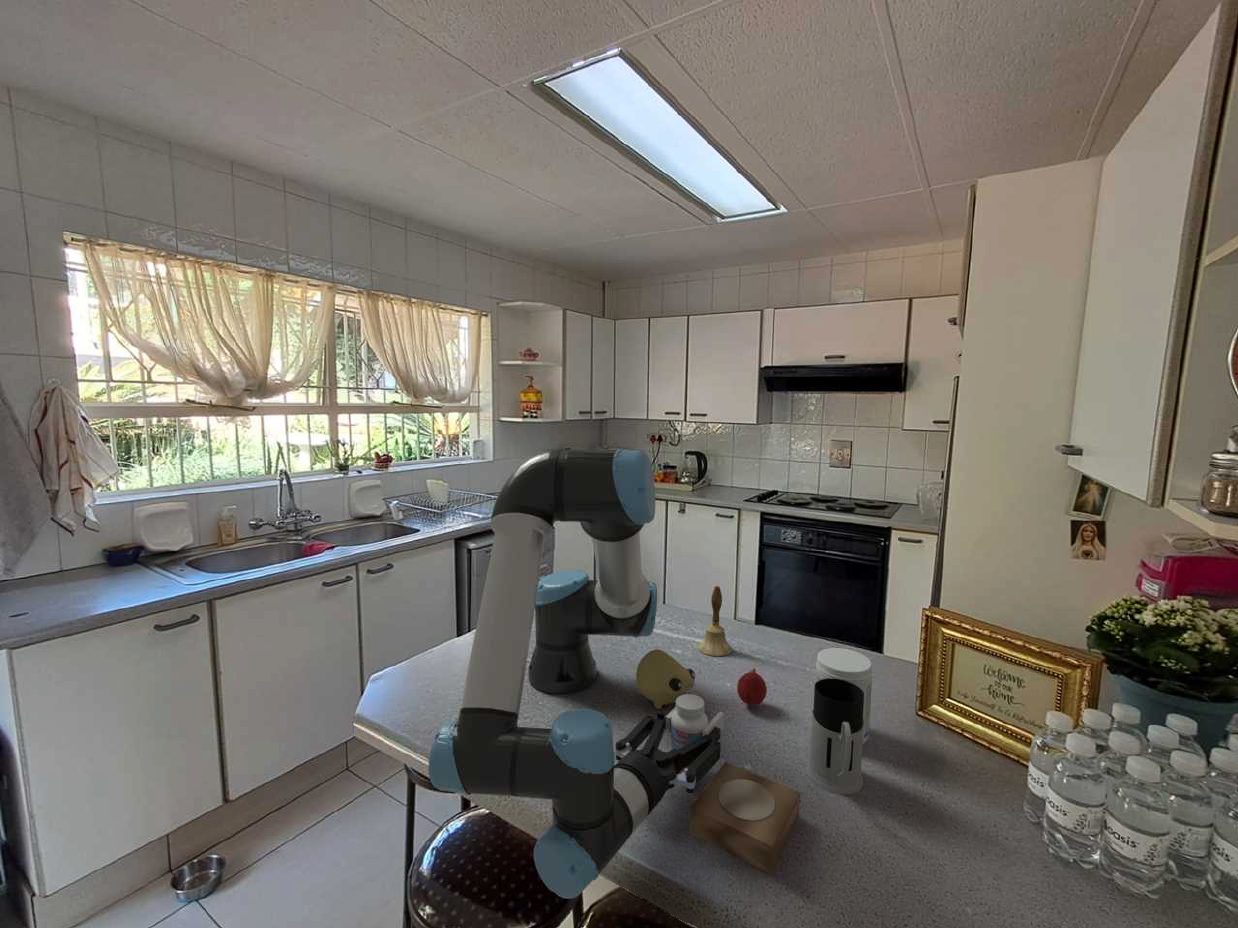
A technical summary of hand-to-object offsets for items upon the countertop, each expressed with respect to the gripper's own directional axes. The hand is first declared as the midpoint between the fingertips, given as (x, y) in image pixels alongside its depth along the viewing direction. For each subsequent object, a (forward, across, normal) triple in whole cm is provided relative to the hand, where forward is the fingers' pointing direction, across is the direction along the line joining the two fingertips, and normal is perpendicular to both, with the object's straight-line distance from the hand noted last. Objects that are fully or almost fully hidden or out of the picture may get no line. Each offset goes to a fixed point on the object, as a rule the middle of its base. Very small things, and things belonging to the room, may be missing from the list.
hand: (703, 713), depth 94 cm
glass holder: (+6, +21, -8) cm, 23 cm away
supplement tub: (+21, +18, -8) cm, 29 cm away
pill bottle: (-5, 0, -7) cm, 9 cm away
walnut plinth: (-10, +12, -8) cm, 18 cm away
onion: (+20, +1, -8) cm, 22 cm away
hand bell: (+39, -16, -9) cm, 43 cm away
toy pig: (+11, -14, -8) cm, 20 cm away
